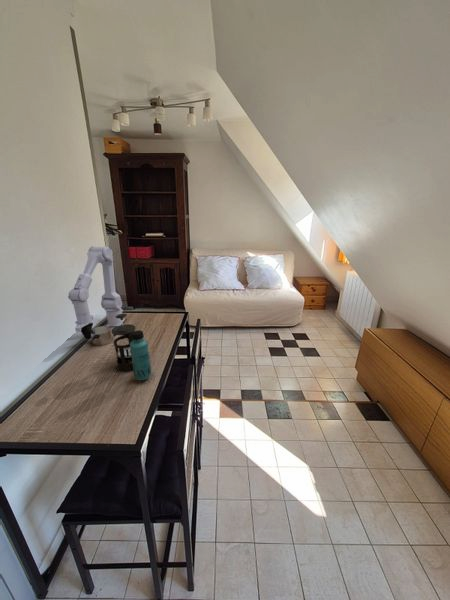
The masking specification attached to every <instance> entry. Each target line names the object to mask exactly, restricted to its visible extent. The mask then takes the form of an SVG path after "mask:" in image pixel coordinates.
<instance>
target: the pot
mask: <svg viewBox="0 0 450 600" xmlns="http://www.w3.org/2000/svg"><path fill="white" fill-rule="evenodd" d="M111 331H112V329H111V327H108V326H106V325H102V326H97V327H94V328H92V330H91V331H90V334H91V338H90V339H91V342H92V345H93V346H104V345H107V344H110V343H111V342H112V341H113V336H112V335H113V334H112V332H111Z"/></svg>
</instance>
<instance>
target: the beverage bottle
mask: <svg viewBox="0 0 450 600" xmlns="http://www.w3.org/2000/svg"><path fill="white" fill-rule="evenodd" d="M144 337H145V335H144V331H143V330H139V329H138V330H135V331H134V332H132V339H133V341H132V342H131V343H130V349H131V355H132V360H131V363H132V364H133V369H134V370H133V371H132V372H133V376H134V378H135V380H137V381H144V380H147V379H149V378H150V377H151V375H152V366H151V360H150V352H149V345H148V340H147V339H145V338H144Z"/></svg>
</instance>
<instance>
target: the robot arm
mask: <svg viewBox="0 0 450 600" xmlns="http://www.w3.org/2000/svg"><path fill="white" fill-rule="evenodd" d="M113 254H114V253H113V250H112V249H111V248H110V247H109V246H90V247H89V248H88V251H87V253H86V255H87V261H86V263H85V266H84V270H83V273H81V274H79V275H78V277H77V280H76V282H75V284H74V286H73V288H72V289H70V291H69V292H68V296H67V298H68V299H69V300H70V302H71V304H72V305H73V309H74V313H75V318H76V321H75V325H76V326H75V328H74V330H75V332H76V333H77V332H78V333H79V332H81V334H82V336H83V338H84V339H85V340H90V339H91V334H90V331H91V330H92V329H93V326H94V322H93V320H94V319H95V318H94V315H91V314H90V309H89V305H88V299H89V297H90V294H89V292H90V290H89V288H90V286H91V284H92V281H93V278H92V275H93V273H94V271H95V269H96V267H97V266H98V264H99V263H100V265H101V266H102V267H101V268H102V276H103V288H104V293H103V295H101V302H100V305H101V308H102V309H104V311H105V314H106V319H107V324H106V325H105V326H108V327H110V328H112V327H117V326H120V325H122V320H121V319H120V318H116V316H117V315H119V314H123V309H122V307H123V301H122V298H121V295H120V294H118V293H117V292H116V281H115V270H114V255H113ZM125 320H126V318H123V323H124V322H125Z"/></svg>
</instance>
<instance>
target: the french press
mask: <svg viewBox="0 0 450 600" xmlns="http://www.w3.org/2000/svg"><path fill="white" fill-rule="evenodd" d="M127 316H128V314H127V313H122V314H119V315H117V316H116V318H120V319H121V320H122V324H121V325H120V326H114V327H113V328H112V329H111V335H113V336H112V337H114V340H113V346H114V350H115V355H116V363H117V370H118V371H120V372H123V373H128V372H133V371H134V369H133V364H132V362H131V363H127V362H128V361H132V355H131V349H130V343H131V342H132V341H133V339H132V332H134V331H136V326H135V325H134V324H130V323H129V324H128V323H127V324H126V323H125V324H124V322H123V319H125V318H126V317H127ZM116 336H118V337H116ZM115 337H116V338H115ZM123 339H124V342H125V344H124V345H123V344H122V345H120V344H119V345H118V341H120V340H123ZM127 340H128V344H127Z"/></svg>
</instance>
